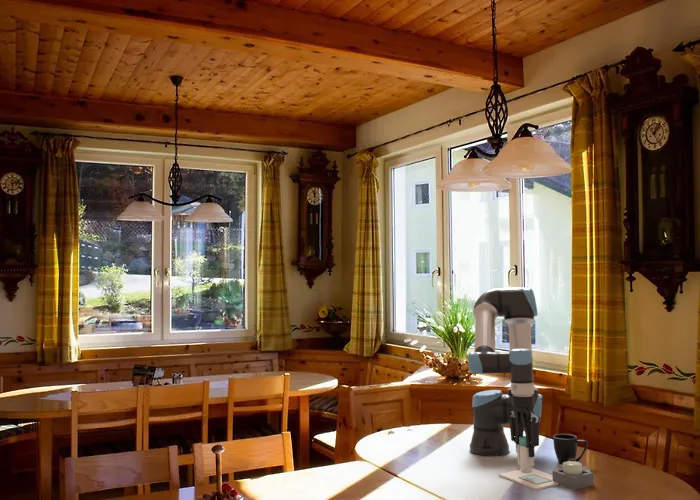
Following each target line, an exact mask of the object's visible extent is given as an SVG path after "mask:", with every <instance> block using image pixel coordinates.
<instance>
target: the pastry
mask: <svg viewBox="0 0 700 500" xmlns="http://www.w3.org/2000/svg"><path fill="white" fill-rule="evenodd" d="M576 459H577V458H569V460H568V461H573V462H578V461H576ZM568 461H567V462H568ZM562 468H563V464H560V465H559V464H558V465H555V466H554V470H557V469H562ZM582 469H583V470H586V471H589V472H592V470H591V468H589V467H588V466H584V465H582Z"/></svg>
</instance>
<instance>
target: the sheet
mask: <svg viewBox="0 0 700 500" xmlns="http://www.w3.org/2000/svg"><path fill="white" fill-rule="evenodd" d="M498 476H499V477H501V478H504V479H506V480H508V481H509V480H510V481H512V482H514V483H516V484H519V485H522V486H525V487H526V488H530V489H534V490H535V491H538V490H542V489H547V488H552V487H555V486H559V485H558V483H557V482H554V481H553V475H552V474H550V473H547V472H544V471H541V470H538V469H535V468H533V467H532V473H529V474H526V473H521V469H517V470H512V471H508V472H503V473H499V474H498Z"/></svg>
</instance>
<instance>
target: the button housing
mask: <svg viewBox="0 0 700 500" xmlns="http://www.w3.org/2000/svg"><path fill="white" fill-rule="evenodd" d="M551 475H553V481H554V482H557V483H558V485H557V486H560V487H563V488H567V489H569V490H572V491H576V490H580V489H584V488H589V487H593V486H595V482H594V481H595V478H594V472H592V471H590V472H589V471H586V470H583V469H582V474H580V475H576V476H571V475H568V474H565V473H563V468H562V469H557V470H555V469H554V470H552V474H551Z"/></svg>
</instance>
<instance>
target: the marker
mask: <svg viewBox="0 0 700 500" xmlns="http://www.w3.org/2000/svg"><path fill="white" fill-rule="evenodd" d="M519 445H520V470H521V473H526V474H529V473H532V468H533V467H526V446H527V441H526V435H523V436H520V437H519Z"/></svg>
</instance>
